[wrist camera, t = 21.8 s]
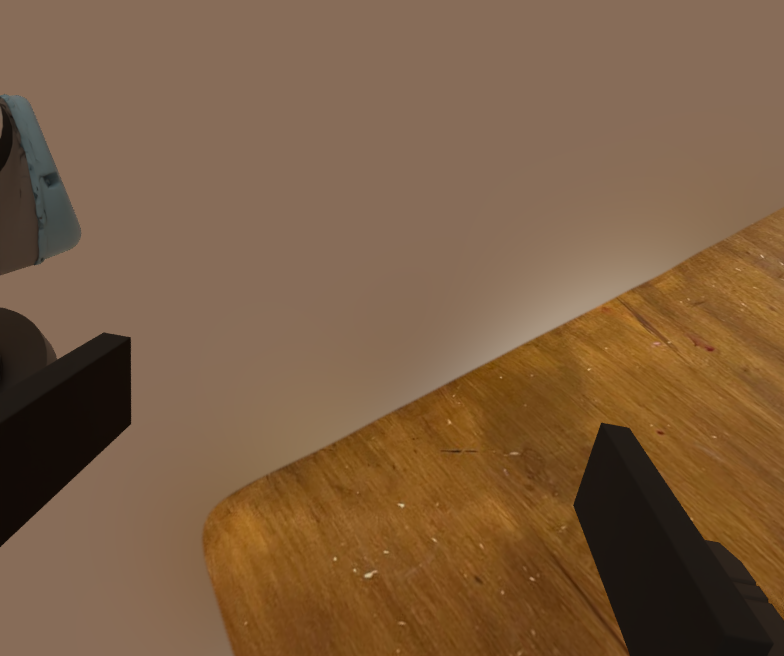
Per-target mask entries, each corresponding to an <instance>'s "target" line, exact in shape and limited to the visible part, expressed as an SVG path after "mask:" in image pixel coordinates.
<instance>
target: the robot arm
mask: <svg viewBox="0 0 784 656" xmlns="http://www.w3.org/2000/svg"><path fill="white" fill-rule="evenodd" d="M80 237H81V228H80V225H79V222H78V220H77V217H76V215H75V212H74V210H73V207H72V205H71V202H70V200H69V197H68V195H67V193H66V190H65V187H64V185H63V182H62V180H61V177H60V175H59V173H58V170H57V168H56V165H55V163H54V160H53V158H52V155H51V153H50V151H49V148H48V146H47V143H46V141H45V138H44V136H43V133H42V131H41V129H40V126H39V124H38V121H37V119H36V116H35V115H34V112H33V109H32V107H31V105H30V103H29V102H28V101H27V99H25V98H24V97H21V96H17V95H16V96H8V95H5V94H4V95H1V96H0V275H3V274H6V273H9V272H12V271H15V270H18V269H22V268H25V267H28V266H31V265H38V264H41V263H42V262H43V261H44V260H45V259H47V258H50V257H52V256H55V255H57V254H60V253H63V252H65V251H68V250H70V249H72V248H73V247H75V246H76V245H77V243H78V242H79V240H80ZM1 375H2V361H1V357H0V380H1ZM130 424H131V338H130V337H125V336H120V335H114V334H108V333H102V334H100V335H99V336H97V337H95V338H93V339H92V340H90V341H88V342H87V343H85V344H83V345H82V346H80V347H78V348H76V349H75V350H73V351H71V352H70V353H68V354H66V355H64V356H63V357H61V358H59V359H58V360H56V361H54V362H53V363H51V364H49V365H47V366H46V367H44V368H42V369H41V370H39V371H37V372H35V373H34V374H32V375H30V376H29V377H27V378H25V379H24V380H22V381H20V382H18V383H17V384H15V385H13V386H12V387H10V388H8V389H7V390H5V391H3V392H1V393H0V547H1V546H2V545H3V544H4V543H5V542H6V541H7V540H8V539H9V538H10V537H11V536H12V535H13V534H15V532H17V531H18V530H19V529H20V528H21V527H22V526H23V525H24V524H25V523H26V522H27V521H28V520H29V519H30V518H31V517H33V516H34V515H35V514H36V513H37V512H38V511H39V510H40V509H41V508H42V507H43V506H44V505H45V504H46V503H47V502H48V501H50V500H51V499H52V498H53V497H54V496H55V495H56V494H57V493H58V492H59V491H60V490H61V489H62V488H63V487H64V486H66V485H67V484H68V483H69V482H70V481H71V480H72V479H73V478H74V477H75V476H76V475H77V474H78V473H79V472H80V471H81V470H83V469H84V467H86V466H87V465H88V464H89V463H90V462H91V461H92V460H93V459H94V458H95V457H96V456H97V455H98V454H100V453H101V452H102V451H103V450H104V449H105V448H106V447H107V446H108V445H109V444H110V443H111V442H112V441H113V440H114V439H116V438H117V437H118V436H119V435H120V434H121V433H122V432H123V431H124V430H125V429H126V428H127V427H128V426H129V425H130ZM573 506H574V508H575V511H576V514H577V516H578V519H579V522H580V524H581V527H582V530H583V532H584V535H585V537H586V540H587V543H588V545H589V548H590V551H591V553H592V556H593V559H594V561H595V564H596V567H597V569H598V572H599V574H600V577H601V580H602V582H603V585H604V588H605V590H606V593H607V596H608V598H609V601H610V604H611V606H612V609H613V611H614V614H615V617H616V619H617V622H618V625H619V627H620V630H621V633H622V635H623V638H624V641H625V643H626V646H627V648H628V651H629V654H630V656H784V620H783V619H782V617H781V616H780V615H779V613H778V612H777V611H776V609H775V608H774V606H773V605H772V604H770V603H768V598H767V597H766V595H765V594H764V593H763V591H762V590H761V588H760V587H759V586H756V582H755V580H754V579H753V577H752V576H751V575H750V573H749V572H748V571H747V569H746V568H745V566H744V565H743V564H742V562H741V561H740V560H738V559H737V558H736V557H735V556H734V555H733V554H732V553H730V552H729V551H728V550H727V549H726V548H725V547H724V546H722V545H721V544H720V543H718V542H713V541H707V540H704V538H703V537H702V536H701V534H700V533H699V531H698V530H697V528H696V527H695V525H694V524H693V522H692V521H691V519H690V518H689V516H688V515H687V513H686V512H685V510H684V509H683V507H682V506H681V504H680V503H679V501H678V500H677V498H676V497H675V495H674V494H673V492H672V491H671V489H670V488H669V486H668V485H667V483H666V482H665V480H664V479H663V478H662V476H661V475H660V473H659V472H658V470H657V469H656V467H655V466H654V464H653V463H652V461H651V460H650V458H649V457H648V455H647V454H646V452H645V451H644V449H643V448H642V446H641V445H640V443H639V442H638V440H637V439H636V437H635V436H634V434H633V433H632V431H631V430H630V428H627V427H622V426H616V425H611V424H605V423H601V425H600V428H599V431H598V434H597V437H596V440H595V443H594V445H593V448H592V451H591V454H590V457H589V460H588V463H587V466H586V469H585V472H584V475H583V478H582V481H581V484H580V487H579V490H578V493H577V496H576V499H575V502H574V505H573Z"/></svg>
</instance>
